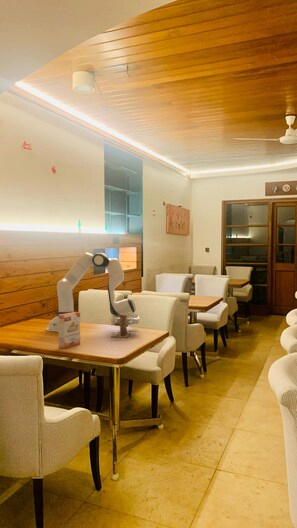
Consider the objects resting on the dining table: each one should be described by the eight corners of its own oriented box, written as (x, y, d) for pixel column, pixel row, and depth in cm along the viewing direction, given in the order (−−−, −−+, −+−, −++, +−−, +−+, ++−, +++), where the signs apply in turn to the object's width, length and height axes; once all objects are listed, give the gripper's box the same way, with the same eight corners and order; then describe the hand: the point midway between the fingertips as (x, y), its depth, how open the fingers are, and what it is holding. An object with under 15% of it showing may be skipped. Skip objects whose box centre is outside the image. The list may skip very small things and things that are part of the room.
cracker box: (65, 349, 241) (64, 315, 240) (58, 347, 244) (57, 314, 243) (80, 344, 253) (80, 312, 252) (74, 342, 256) (73, 311, 255)
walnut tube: (119, 336, 271) (118, 314, 271) (120, 334, 276) (120, 313, 275) (126, 336, 271) (125, 314, 270) (127, 334, 275) (127, 313, 274)
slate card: (110, 337, 271) (110, 336, 271) (113, 334, 279) (113, 333, 279) (127, 338, 269) (127, 336, 269) (130, 335, 277) (130, 334, 277)
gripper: (113, 314, 287) (108, 317, 274) (140, 314, 284) (137, 318, 270) (113, 322, 288) (108, 326, 274) (141, 323, 284) (137, 327, 270)
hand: (123, 322), depth 272 cm, fingers open, 8 cm apart
